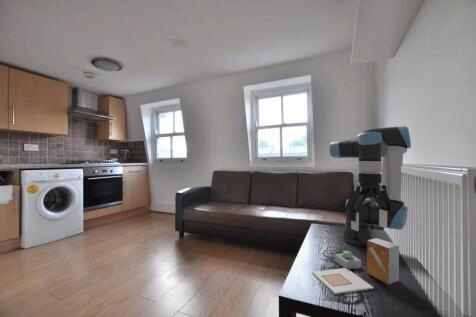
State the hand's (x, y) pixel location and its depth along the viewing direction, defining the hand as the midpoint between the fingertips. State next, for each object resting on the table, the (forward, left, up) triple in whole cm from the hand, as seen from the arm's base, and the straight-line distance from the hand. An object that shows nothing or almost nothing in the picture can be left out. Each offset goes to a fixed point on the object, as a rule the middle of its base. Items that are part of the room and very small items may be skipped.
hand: (369, 228), depth 80 cm
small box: (-4, +2, -18) cm, 19 cm away
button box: (+2, -9, -18) cm, 20 cm away
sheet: (+13, +1, -18) cm, 22 cm away
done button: (+2, -9, -15) cm, 18 cm away
